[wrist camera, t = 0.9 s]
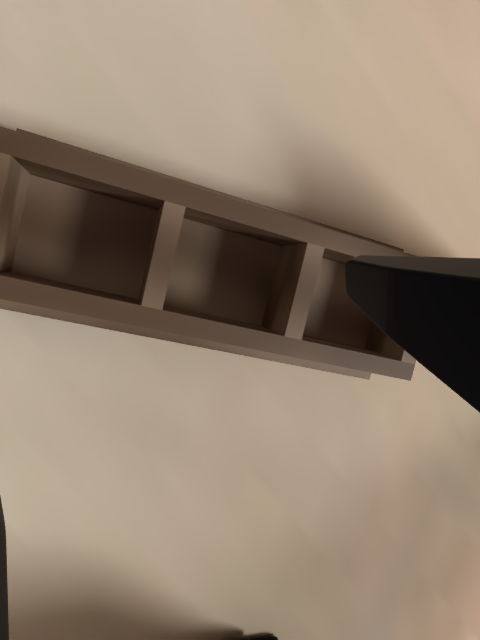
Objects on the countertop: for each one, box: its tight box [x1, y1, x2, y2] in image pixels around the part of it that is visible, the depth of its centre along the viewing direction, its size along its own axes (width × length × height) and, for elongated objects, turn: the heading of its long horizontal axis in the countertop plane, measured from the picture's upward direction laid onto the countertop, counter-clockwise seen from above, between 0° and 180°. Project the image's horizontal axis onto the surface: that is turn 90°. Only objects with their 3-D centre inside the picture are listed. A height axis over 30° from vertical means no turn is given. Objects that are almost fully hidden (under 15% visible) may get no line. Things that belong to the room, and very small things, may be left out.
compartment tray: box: [0, 127, 418, 381], centre depth 23 cm, size 9×24×5 cm, turn 75°
